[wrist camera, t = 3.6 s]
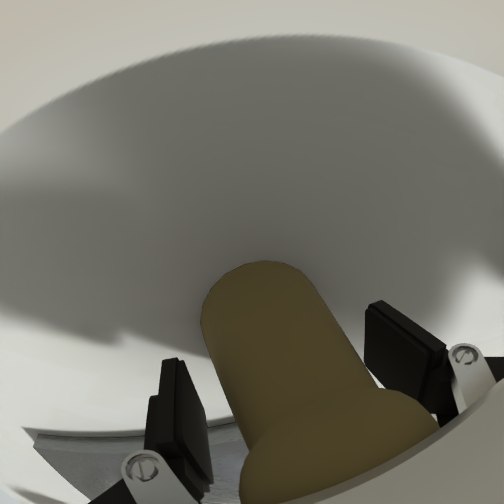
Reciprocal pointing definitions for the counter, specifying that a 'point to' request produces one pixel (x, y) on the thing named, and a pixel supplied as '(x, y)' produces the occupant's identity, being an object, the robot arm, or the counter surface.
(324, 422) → the cork
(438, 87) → the counter surface
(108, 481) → the plate
